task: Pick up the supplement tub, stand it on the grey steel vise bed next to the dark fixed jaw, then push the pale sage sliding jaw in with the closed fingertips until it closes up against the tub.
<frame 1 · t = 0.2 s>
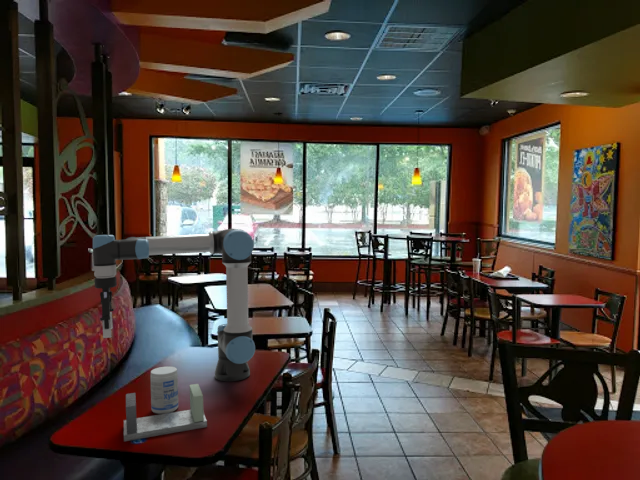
hand: (108, 333, 184), 28 cm above the table, tool pointing down, fingers open, 13 cm apart
vise: (165, 426, 166), on the table
supplement tub: (165, 409, 181), on the table
sliding jaw: (196, 402, 170), point 7 cm above the table, slide at 0.0 cm
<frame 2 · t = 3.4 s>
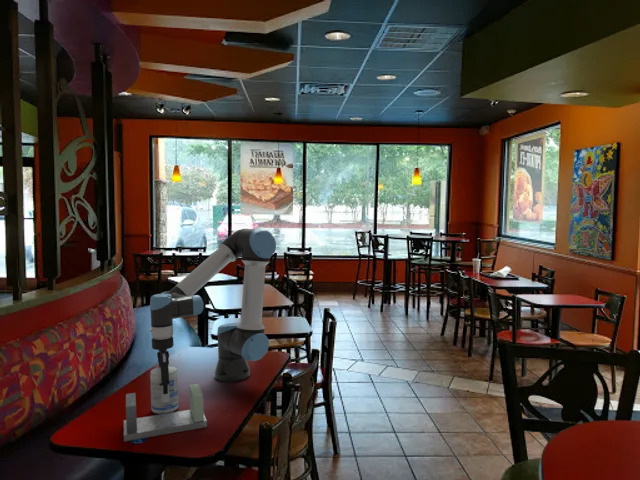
hand: (164, 396, 180), 5 cm above the table, tool pointing down, fingers closed on supplement tub, 10 cm apart
supplement tub: (165, 409, 181), on the table, touching gripper
everything else where it was.
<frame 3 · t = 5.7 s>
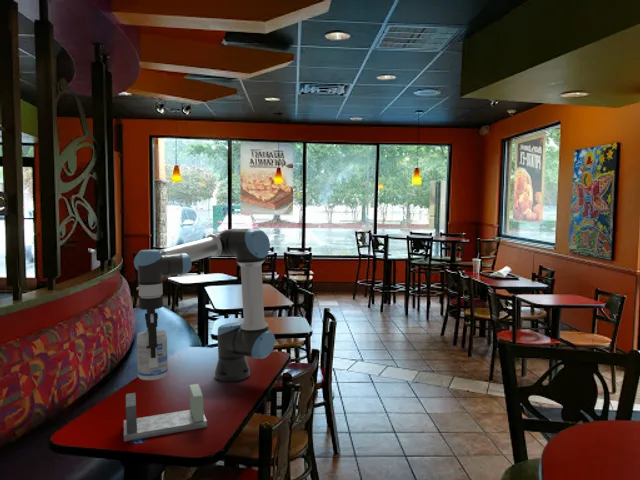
hand: (152, 362, 165), 22 cm above the table, tool pointing down, fingers closed on supplement tub, 10 cm apart
supplement tub: (153, 376, 165), point 17 cm above the table, touching gripper
everything else where it was.
when the fingers open (8 cm above the table, at t = 8.5 s): supplement tub stays where it is, resting on vise.
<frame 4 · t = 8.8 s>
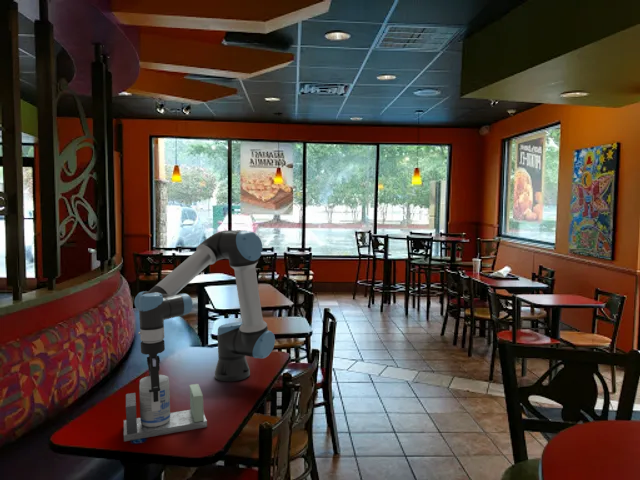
hand: (155, 403, 165), 9 cm above the table, tool pointing down, fingers open, 13 cm apart
supplement tub: (155, 422, 166), point 2 cm above the table, touching vise
everything else where it was.
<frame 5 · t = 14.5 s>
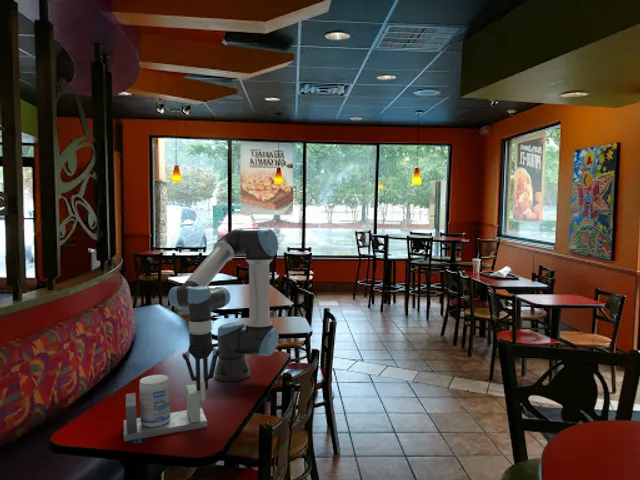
hand: (202, 399, 170), 7 cm above the table, tool pointing down, fingers closed
sliding jaw: (193, 402, 169), point 7 cm above the table, slide at 1.1 cm, touching gripper
everything else where it was.
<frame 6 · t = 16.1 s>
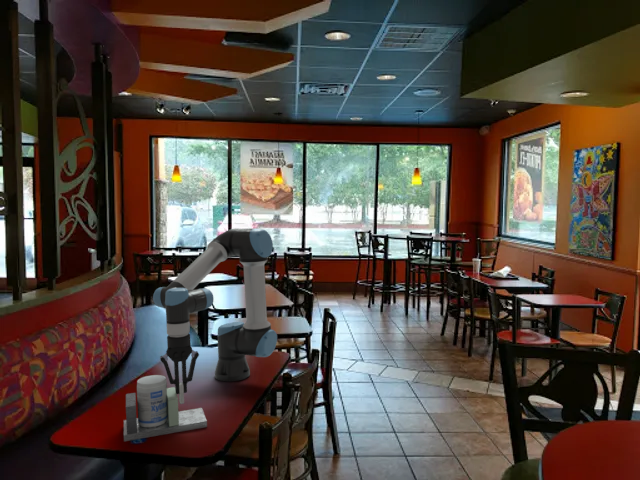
hand: (181, 402, 168), 7 cm above the table, tool pointing down, fingers closed
supplement tub: (153, 422, 165), point 2 cm above the table, touching sliding jaw, vise
sliding jaw: (172, 406, 167), point 7 cm above the table, slide at 8.1 cm, touching gripper, supplement tub
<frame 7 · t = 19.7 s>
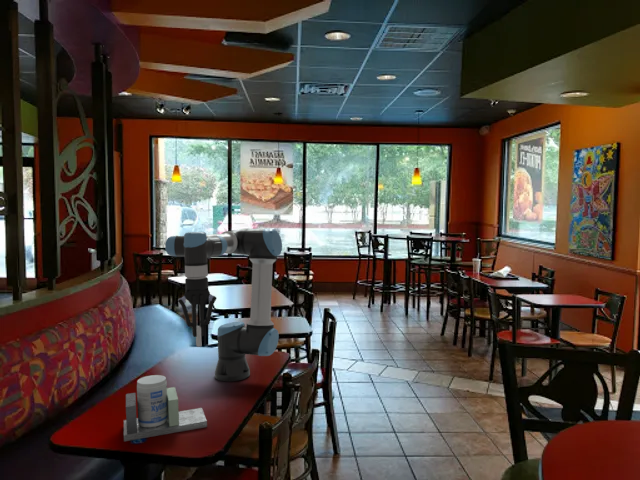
hand: (198, 345, 169), 26 cm above the table, tool pointing down, fingers closed
supplement tub: (153, 422, 165), point 2 cm above the table, touching vise
sliding jaw: (172, 406, 167), point 7 cm above the table, slide at 8.0 cm
at the end: sliding jaw slide at 8.0 cm; supplement tub inside the target area (0.5 cm from its centre), point 1.8 cm above the table; supplement tub tilted 0° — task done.
